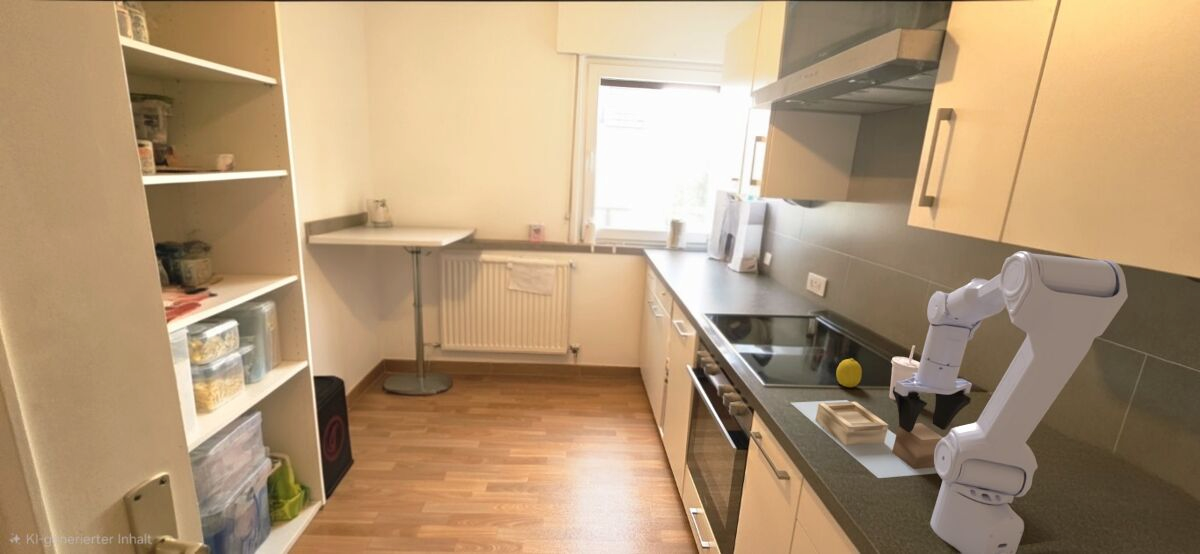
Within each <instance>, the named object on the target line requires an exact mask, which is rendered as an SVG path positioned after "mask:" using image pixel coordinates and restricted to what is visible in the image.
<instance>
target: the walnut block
mask: <svg viewBox="0 0 1200 554" xmlns="http://www.w3.org/2000/svg"><path fill="white" fill-rule="evenodd" d="M895 435H896V439H895V443H894V446H893V450H892V453H893V454H895V455H896V456H897V457H899V458H900V459H901V460H903V461H904V462H905V463H907V464H908V465H909V466H910V467H912V468H913V469H920V468H932V467H935V464H934V452H935V448H936V445H937V443H938V442H939V441H940V440H941V439H942V438H944V436H942V435H940V434H938V433H937V432H935V431H934V430H933V429H931V428H929V427H928V426H926V425H925V424H923V423H922V422H918V423H917V422H916V423H915V426H914V428H913V430H912V431H911V432H907V431H905V430H904V429H903V428H901V427H900V426H899V425H898V428H897V431H896V434H895Z"/></svg>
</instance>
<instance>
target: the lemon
mask: <svg viewBox="0 0 1200 554" xmlns="http://www.w3.org/2000/svg"><path fill="white" fill-rule="evenodd" d="M835 372H836V373H835V375H836V380H837V382H838V383H839V384H840V385H841V386H842V387H844V388H853V387H856V386H858V384H859V383H860V382H861V380H862V372H863V371H862V367H861V365H860V363H859V362H858V361H856V360H855V359H854V358H852V357H851V358H848V359H844V360H841V362H839V364H838V366H837V368H836V371H835Z"/></svg>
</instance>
